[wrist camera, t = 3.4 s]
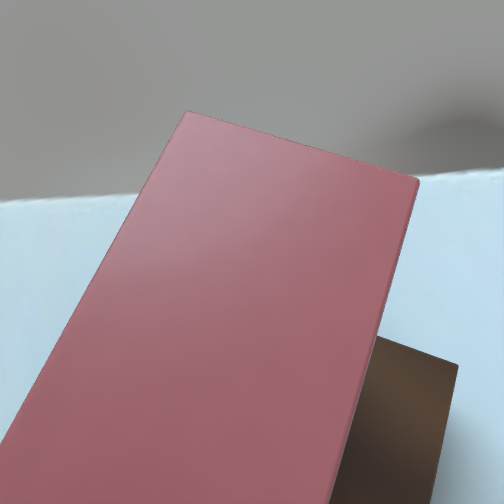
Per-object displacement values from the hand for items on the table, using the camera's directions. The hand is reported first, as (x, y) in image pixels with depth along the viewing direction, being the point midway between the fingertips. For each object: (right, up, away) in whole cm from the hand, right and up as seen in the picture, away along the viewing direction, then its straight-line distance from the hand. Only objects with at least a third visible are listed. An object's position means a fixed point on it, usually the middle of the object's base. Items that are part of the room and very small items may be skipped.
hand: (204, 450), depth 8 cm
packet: (+1, -1, +7) cm, 7 cm away
